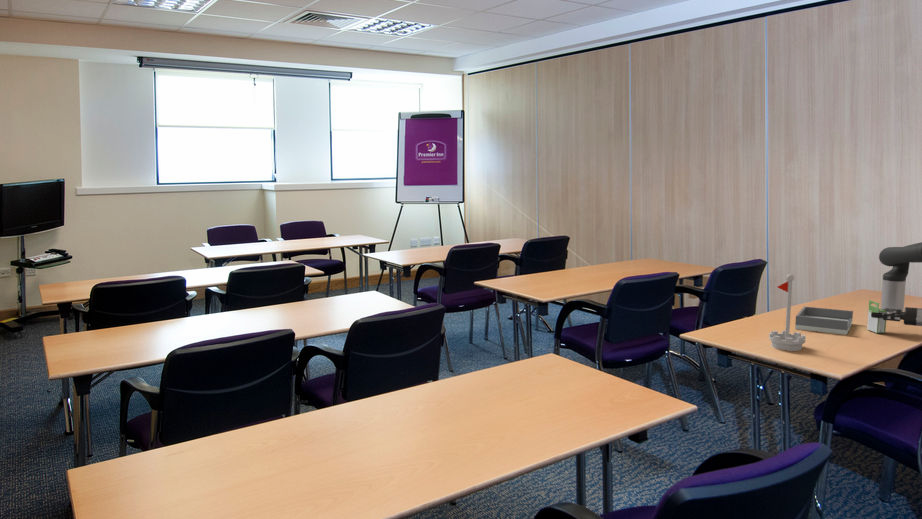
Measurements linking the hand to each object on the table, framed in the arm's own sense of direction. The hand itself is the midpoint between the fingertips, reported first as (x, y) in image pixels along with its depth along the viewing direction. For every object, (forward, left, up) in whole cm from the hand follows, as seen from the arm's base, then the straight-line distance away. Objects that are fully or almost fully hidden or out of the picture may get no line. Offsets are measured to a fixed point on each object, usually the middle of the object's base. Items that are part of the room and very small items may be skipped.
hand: (872, 312), depth 279 cm
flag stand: (+46, -26, -9) cm, 54 cm away
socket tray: (0, -18, -8) cm, 20 cm away
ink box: (0, +2, -8) cm, 9 cm away
